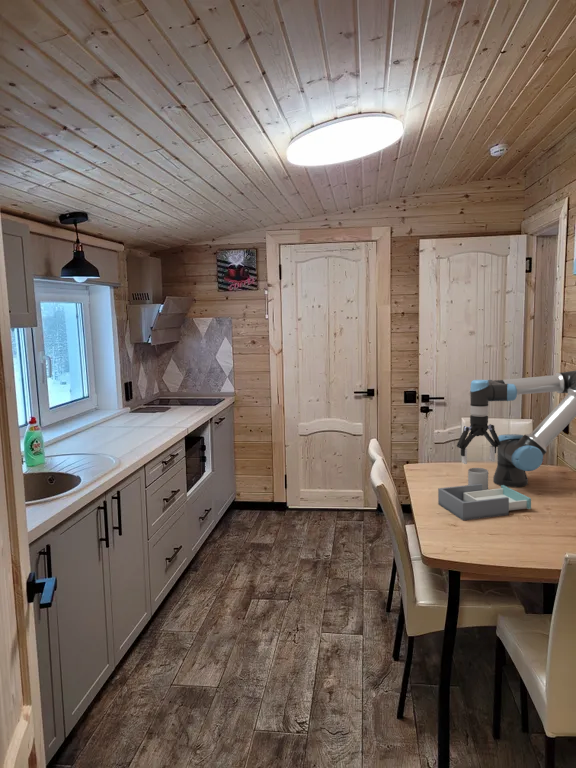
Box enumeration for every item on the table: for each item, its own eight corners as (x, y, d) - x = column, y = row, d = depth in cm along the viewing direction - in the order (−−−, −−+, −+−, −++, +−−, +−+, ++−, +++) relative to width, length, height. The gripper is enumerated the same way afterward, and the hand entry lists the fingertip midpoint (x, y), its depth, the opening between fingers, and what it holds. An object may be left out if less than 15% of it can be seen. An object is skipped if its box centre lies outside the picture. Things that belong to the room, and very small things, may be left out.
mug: (486, 498, 241) (486, 473, 240) (466, 495, 246) (466, 471, 244) (491, 490, 252) (491, 466, 250) (471, 488, 256) (472, 464, 255)
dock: (480, 499, 240) (480, 483, 239) (508, 515, 221) (508, 497, 220) (438, 504, 236) (438, 488, 235) (463, 520, 216) (463, 503, 215)
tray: (503, 494, 241) (503, 485, 241) (530, 508, 223) (531, 498, 223) (461, 499, 237) (461, 489, 237) (486, 514, 219) (486, 503, 218)
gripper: (499, 411, 251) (498, 457, 253) (449, 415, 245) (448, 462, 248) (509, 414, 243) (508, 461, 246) (457, 418, 238) (457, 466, 241)
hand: (478, 462), depth 247 cm, fingers open, 13 cm apart
